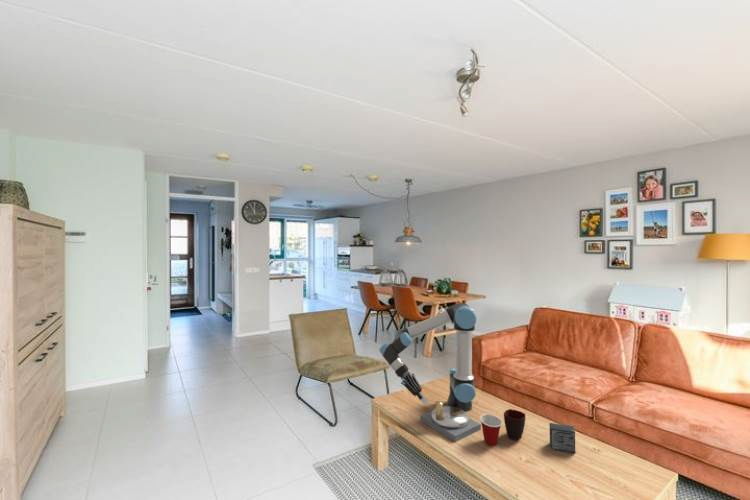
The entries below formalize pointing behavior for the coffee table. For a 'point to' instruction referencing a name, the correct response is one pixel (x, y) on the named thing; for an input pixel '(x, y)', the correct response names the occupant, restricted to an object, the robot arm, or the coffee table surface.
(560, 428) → the small box
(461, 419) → the silver disc with stripe
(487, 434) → the plastic cup
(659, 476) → the coffee table surface
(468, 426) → the stand
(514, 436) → the mug
